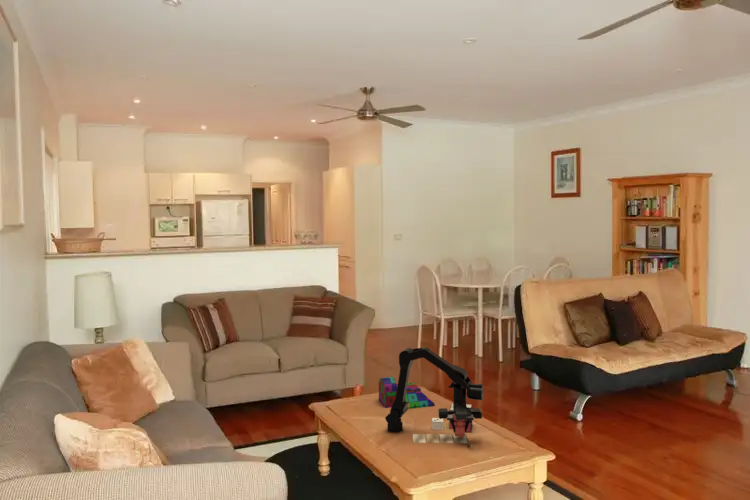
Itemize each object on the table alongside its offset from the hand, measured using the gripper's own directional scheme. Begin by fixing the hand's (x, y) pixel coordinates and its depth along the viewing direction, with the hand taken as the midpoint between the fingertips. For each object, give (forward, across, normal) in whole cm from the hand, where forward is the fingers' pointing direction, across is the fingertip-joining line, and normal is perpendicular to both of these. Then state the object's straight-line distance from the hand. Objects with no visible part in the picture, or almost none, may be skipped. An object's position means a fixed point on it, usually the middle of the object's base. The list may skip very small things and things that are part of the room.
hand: (459, 432), depth 277 cm
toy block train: (+4, -23, +51) cm, 56 cm away
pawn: (+1, 0, 0) cm, 1 cm away
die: (+4, -9, +13) cm, 16 cm away
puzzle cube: (+4, +2, +16) cm, 17 cm away
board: (+4, -9, 0) cm, 10 cm away
